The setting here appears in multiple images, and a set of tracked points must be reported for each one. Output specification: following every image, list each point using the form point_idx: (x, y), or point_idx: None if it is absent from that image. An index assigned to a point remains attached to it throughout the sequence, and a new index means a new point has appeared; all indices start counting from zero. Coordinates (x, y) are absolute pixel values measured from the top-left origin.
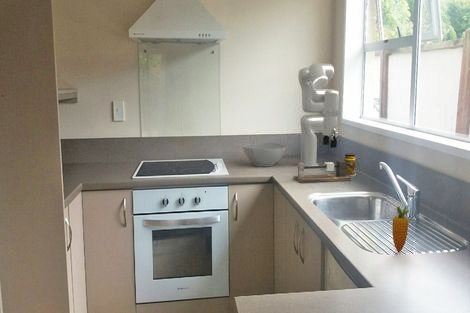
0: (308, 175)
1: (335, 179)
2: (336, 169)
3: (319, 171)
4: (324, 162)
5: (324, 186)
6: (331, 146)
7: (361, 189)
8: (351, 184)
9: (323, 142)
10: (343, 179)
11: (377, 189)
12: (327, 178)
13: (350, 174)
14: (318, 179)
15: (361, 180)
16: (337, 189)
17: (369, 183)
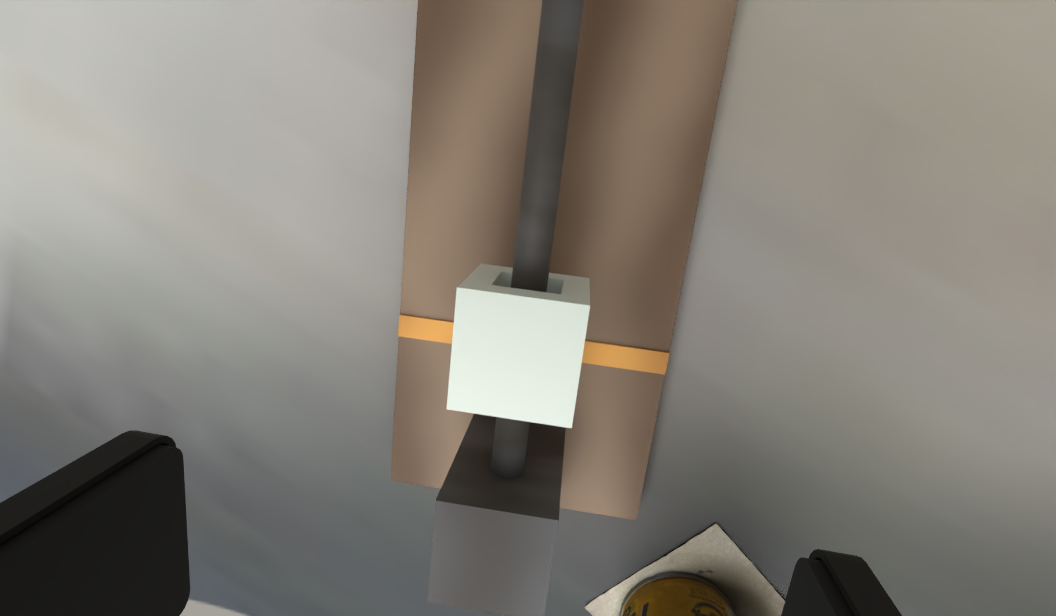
0: (701, 78)
1: (404, 305)
2: (551, 446)
3: (1007, 437)
4: (582, 305)
5: (217, 46)
6: (107, 464)
7: (43, 339)
8: (251, 376)
9: (853, 610)
10: (399, 395)
11: (30, 464)
12: (443, 226)
13: (625, 608)
14: (421, 83)
15: (390, 560)
16: (66, 113)
17: (256, 546)
